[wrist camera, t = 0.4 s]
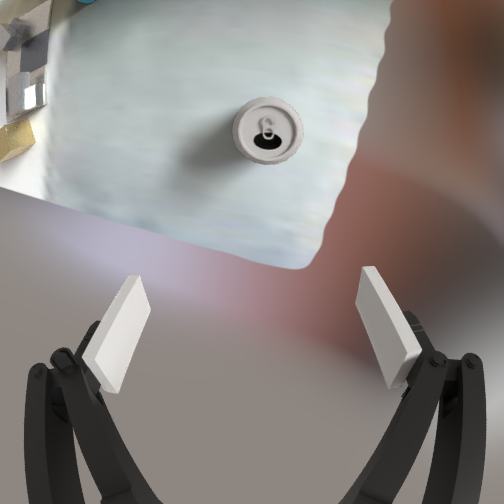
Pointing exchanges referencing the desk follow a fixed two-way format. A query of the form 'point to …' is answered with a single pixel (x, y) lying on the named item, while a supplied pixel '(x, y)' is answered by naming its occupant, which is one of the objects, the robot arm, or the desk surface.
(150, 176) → the desk surface
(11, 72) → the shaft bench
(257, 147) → the can
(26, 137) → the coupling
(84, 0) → the tube
